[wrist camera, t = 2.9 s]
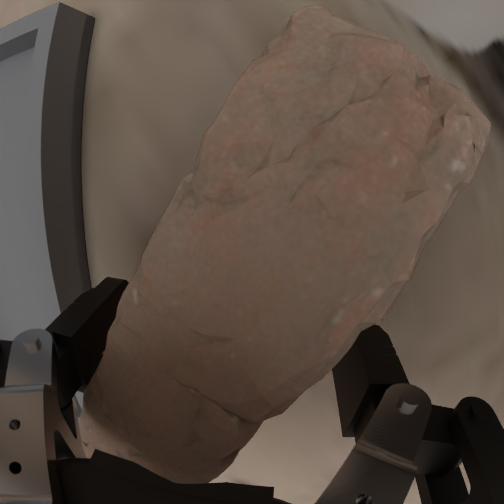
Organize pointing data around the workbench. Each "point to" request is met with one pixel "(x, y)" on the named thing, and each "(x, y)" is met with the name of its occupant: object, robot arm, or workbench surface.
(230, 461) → the brick
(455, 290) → the workbench surface
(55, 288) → the tray
